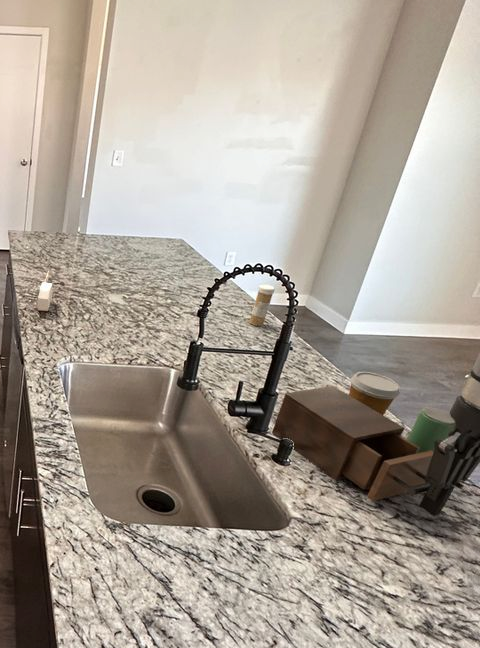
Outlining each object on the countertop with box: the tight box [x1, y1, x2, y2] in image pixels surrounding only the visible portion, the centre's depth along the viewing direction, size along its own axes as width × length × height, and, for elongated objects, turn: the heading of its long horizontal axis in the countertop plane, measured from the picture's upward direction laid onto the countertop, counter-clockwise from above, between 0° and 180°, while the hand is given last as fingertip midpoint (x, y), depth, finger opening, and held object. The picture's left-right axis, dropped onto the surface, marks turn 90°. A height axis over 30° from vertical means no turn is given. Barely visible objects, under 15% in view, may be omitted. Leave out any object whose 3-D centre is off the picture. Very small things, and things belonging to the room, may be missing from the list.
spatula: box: [36, 270, 53, 312], centre depth 195 cm, size 38×8×4 cm
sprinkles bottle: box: [248, 284, 275, 327], centre depth 178 cm, size 5×5×13 cm
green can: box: [406, 406, 456, 454], centre depth 111 cm, size 6×6×14 cm
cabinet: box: [271, 385, 405, 482], centre depth 117 cm, size 17×14×11 cm
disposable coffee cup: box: [348, 371, 401, 416], centre depth 127 cm, size 10×10×12 cm
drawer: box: [342, 433, 433, 502], centre depth 108 cm, size 20×13×9 cm, turn 17°
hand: (428, 510), depth 100 cm, fingers closed
